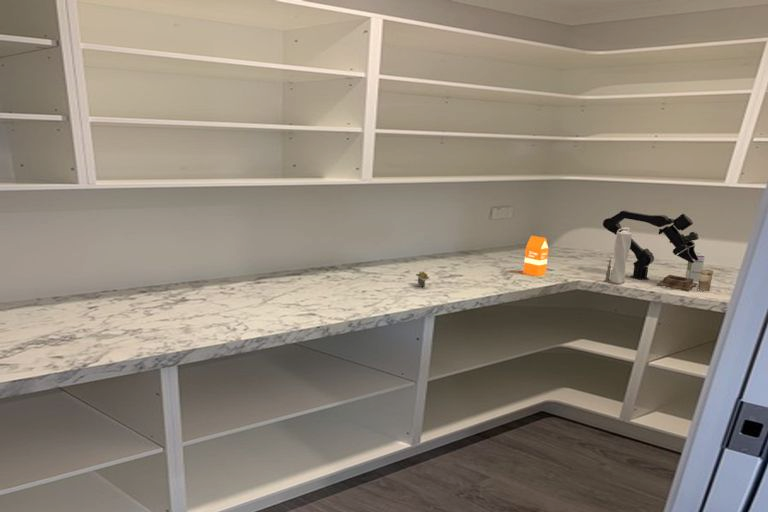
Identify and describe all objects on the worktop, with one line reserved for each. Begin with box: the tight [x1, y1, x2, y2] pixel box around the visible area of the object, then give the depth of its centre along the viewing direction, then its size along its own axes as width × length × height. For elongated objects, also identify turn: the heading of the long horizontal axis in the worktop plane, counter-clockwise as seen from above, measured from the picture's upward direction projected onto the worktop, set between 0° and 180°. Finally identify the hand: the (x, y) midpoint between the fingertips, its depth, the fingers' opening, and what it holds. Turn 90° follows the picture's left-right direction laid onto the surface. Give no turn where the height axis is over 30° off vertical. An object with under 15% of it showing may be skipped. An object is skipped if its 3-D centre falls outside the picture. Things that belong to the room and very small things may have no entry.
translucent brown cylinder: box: [697, 268, 714, 292], centre depth 243 cm, size 5×5×10 cm
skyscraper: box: [604, 227, 633, 285], centre depth 250 cm, size 8×8×28 cm
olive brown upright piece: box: [415, 271, 430, 288], centre depth 231 cm, size 12×18×7 cm, turn 17°
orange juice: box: [523, 235, 549, 277], centre depth 262 cm, size 8×9×20 cm
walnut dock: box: [656, 274, 699, 292], centre depth 252 cm, size 14×18×4 cm
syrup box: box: [685, 252, 706, 282], centre depth 263 cm, size 6×6×14 cm
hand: (695, 261), depth 245 cm, fingers open, 9 cm apart
